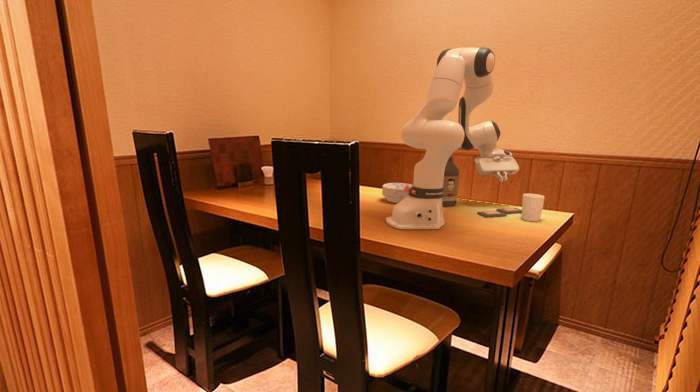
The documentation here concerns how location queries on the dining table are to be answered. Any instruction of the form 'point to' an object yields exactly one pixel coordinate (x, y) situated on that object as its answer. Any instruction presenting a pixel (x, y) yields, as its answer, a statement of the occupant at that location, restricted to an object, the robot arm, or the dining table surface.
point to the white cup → (532, 207)
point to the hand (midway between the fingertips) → (504, 181)
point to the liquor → (450, 184)
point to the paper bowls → (395, 191)
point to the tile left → (491, 214)
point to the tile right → (510, 210)
